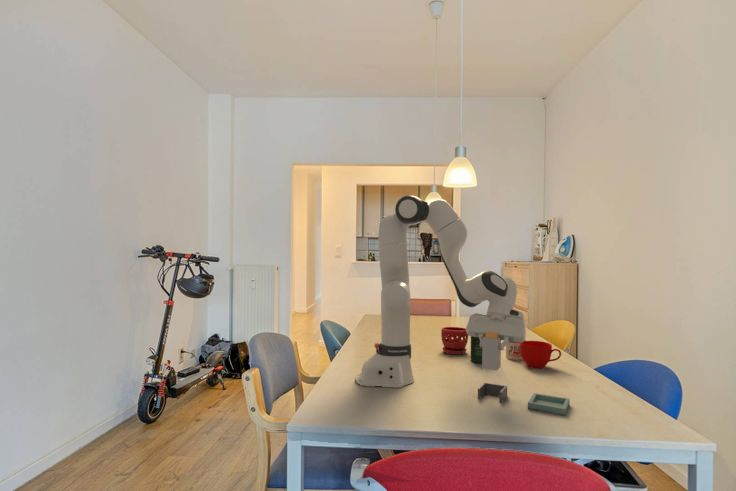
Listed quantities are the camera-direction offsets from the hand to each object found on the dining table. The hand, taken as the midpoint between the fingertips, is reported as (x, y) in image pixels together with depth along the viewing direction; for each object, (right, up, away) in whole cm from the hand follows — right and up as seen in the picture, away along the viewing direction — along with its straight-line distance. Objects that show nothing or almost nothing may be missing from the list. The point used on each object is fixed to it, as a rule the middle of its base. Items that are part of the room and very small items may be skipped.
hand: (491, 347), depth 150 cm
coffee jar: (+9, -18, +50) cm, 54 cm away
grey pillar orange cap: (0, -7, +1) cm, 7 cm away
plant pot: (+1, -18, +67) cm, 69 cm away
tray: (+16, -17, -9) cm, 25 cm away
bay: (+1, -17, 0) cm, 17 cm away
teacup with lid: (+28, -18, +55) cm, 65 cm away
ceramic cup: (+32, -18, +39) cm, 54 cm away
